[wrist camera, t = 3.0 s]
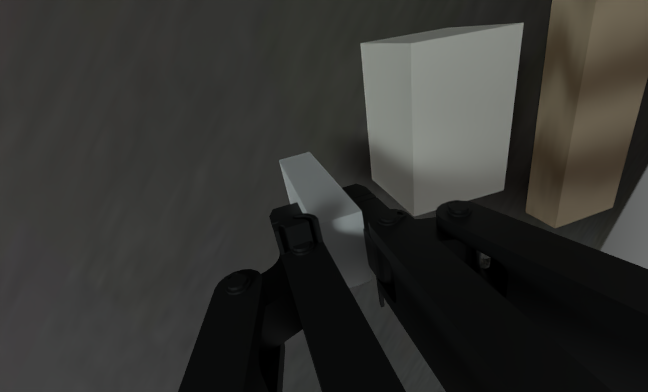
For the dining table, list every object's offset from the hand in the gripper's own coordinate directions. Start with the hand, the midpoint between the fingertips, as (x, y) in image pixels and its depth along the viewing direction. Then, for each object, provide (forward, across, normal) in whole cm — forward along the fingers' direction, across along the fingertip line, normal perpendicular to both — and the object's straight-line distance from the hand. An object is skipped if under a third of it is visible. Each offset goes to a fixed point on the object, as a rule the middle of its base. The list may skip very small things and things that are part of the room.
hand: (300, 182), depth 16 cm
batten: (+6, +23, +1) cm, 24 cm away
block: (+6, +9, +1) cm, 11 cm away
